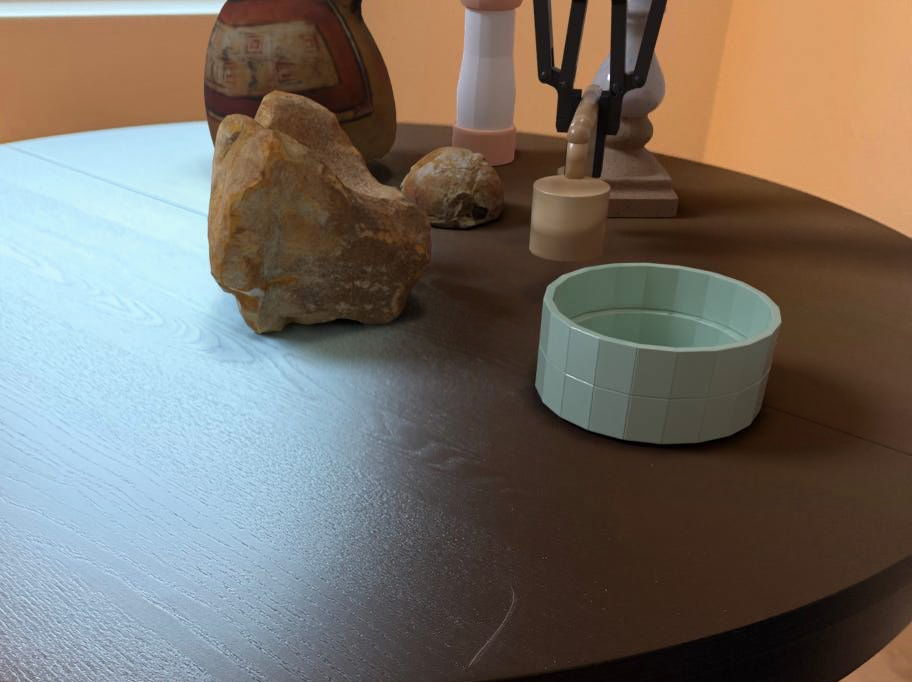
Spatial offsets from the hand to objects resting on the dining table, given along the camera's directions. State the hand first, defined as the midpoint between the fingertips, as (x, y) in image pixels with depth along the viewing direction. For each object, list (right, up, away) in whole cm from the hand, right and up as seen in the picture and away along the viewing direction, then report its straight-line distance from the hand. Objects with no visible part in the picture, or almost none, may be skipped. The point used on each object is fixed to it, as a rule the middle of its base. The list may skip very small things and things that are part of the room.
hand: (583, 172), depth 93 cm
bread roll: (-12, 0, +11) cm, 16 cm away
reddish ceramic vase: (-28, +9, +21) cm, 36 cm away
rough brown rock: (-22, -15, -9) cm, 29 cm away
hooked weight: (-1, -6, -3) cm, 6 cm away
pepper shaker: (-8, +14, +28) cm, 32 cm away
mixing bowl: (+1, -26, -21) cm, 33 cm away
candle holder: (+5, +4, +15) cm, 17 cm away
